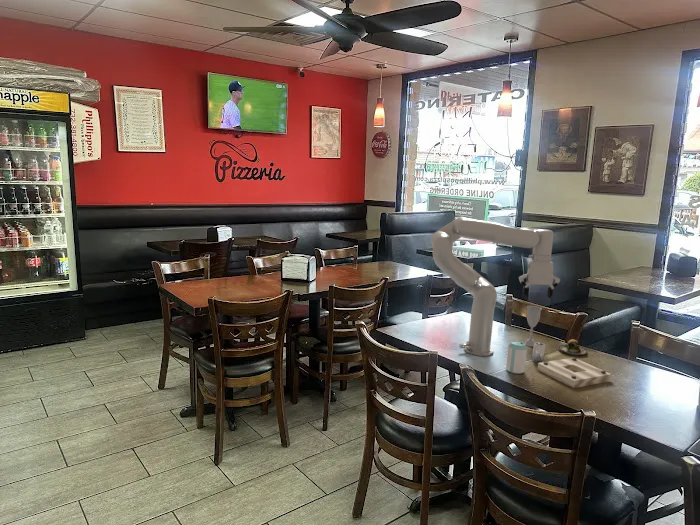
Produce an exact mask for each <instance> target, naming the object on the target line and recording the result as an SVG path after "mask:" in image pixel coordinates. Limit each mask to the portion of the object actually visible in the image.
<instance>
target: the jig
mask: <svg viewBox="0 0 700 525" xmlns="http://www.w3.org/2000/svg"><path fill="white" fill-rule="evenodd" d="M536 370H537V371H539V372H540V373H542V374H545V375H547V376H548V377H550V378H553V379H554V380H557V382H560V383H562V384H564V385H566V386H568V387H570V388H572V389H576V388H581V387H587V386H592V385H598V384H602V383H608V382H611V379H612V373H610V372H607V371H606V370H603V369H601V368H598V367H595V366H593V365H591V364H589V363H587V362H585V361H583V360H581V359H579V358H576V357H567V358H563V359H557V360H556V359H555V360H548V361H543V362H542V363H538V364H537V368H536Z"/></svg>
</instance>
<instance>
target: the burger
mask: <svg viewBox="0 0 700 525" xmlns="http://www.w3.org/2000/svg"><path fill="white" fill-rule="evenodd" d="M573 338H574V336H572V339H569V340H568V341H567V343H566V344H561V345H558V352H560V353H562V352H564V353H566V354H569V355H574V356H582V355H588V351H587V350H586V349H585V348H583V347H580V346H579V345H578V344H579V342H578V340H576V339H573Z"/></svg>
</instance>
